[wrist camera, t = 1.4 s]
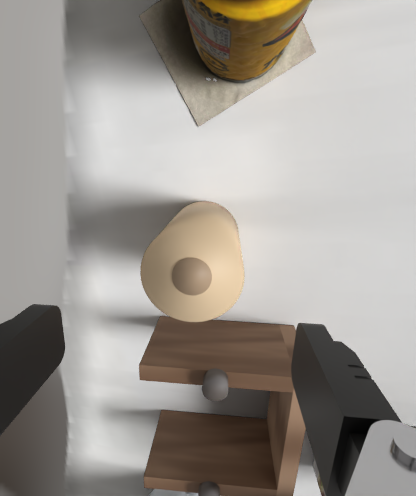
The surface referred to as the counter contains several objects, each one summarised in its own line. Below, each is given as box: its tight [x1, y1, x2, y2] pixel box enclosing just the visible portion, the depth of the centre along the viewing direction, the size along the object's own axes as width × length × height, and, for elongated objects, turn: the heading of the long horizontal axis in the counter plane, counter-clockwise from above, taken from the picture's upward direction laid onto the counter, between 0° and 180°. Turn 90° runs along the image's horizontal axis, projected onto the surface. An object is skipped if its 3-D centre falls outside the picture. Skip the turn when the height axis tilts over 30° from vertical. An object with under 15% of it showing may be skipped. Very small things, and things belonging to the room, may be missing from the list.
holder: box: [139, 316, 306, 496], centre depth 22 cm, size 12×11×7 cm
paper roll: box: [141, 201, 244, 322], centre depth 18 cm, size 5×5×8 cm
